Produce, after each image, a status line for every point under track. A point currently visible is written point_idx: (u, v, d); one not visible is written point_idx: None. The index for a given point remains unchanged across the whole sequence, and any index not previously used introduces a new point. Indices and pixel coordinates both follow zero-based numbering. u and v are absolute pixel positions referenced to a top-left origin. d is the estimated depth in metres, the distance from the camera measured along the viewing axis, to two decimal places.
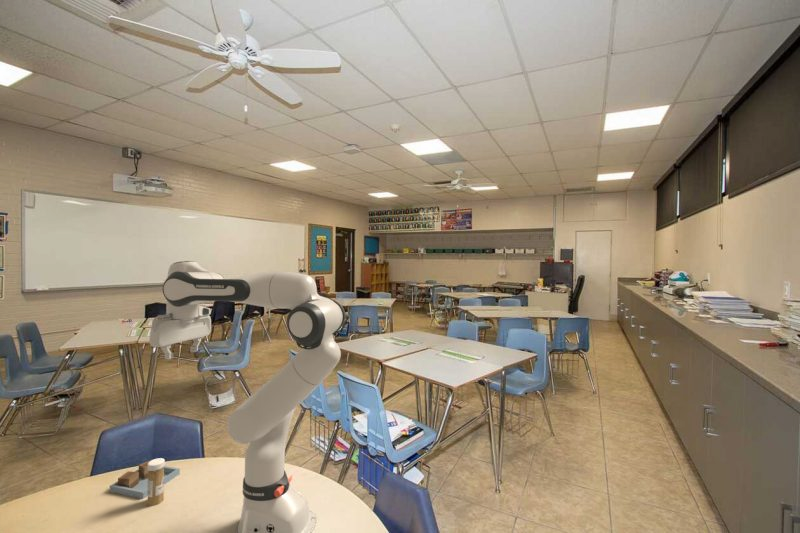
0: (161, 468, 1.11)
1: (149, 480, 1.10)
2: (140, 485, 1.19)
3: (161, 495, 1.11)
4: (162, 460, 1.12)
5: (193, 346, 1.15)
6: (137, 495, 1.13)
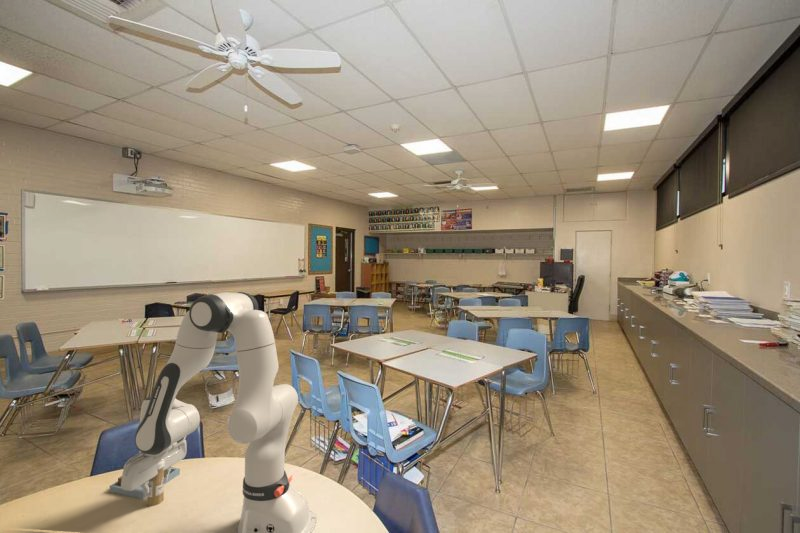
0: (161, 468, 1.11)
1: (149, 480, 1.10)
2: None
3: (161, 495, 1.11)
4: None
5: None
6: (137, 495, 1.13)
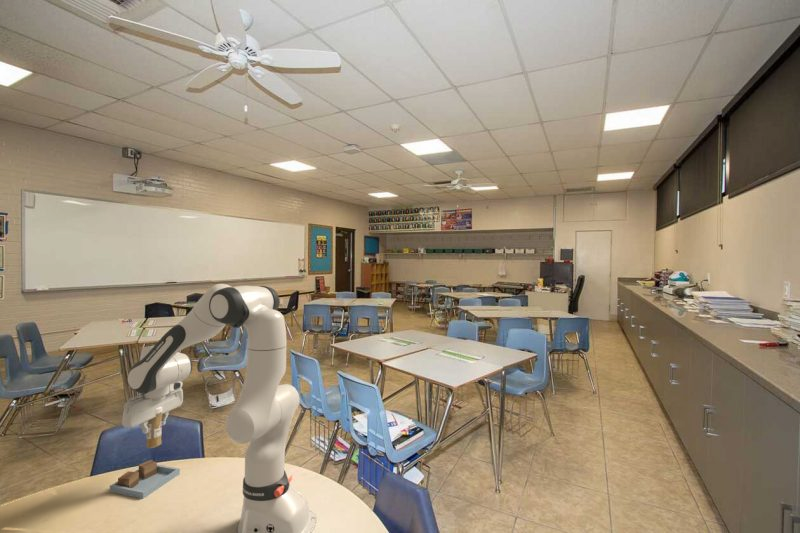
0: (159, 412, 1.20)
1: (148, 423, 1.19)
2: (140, 485, 1.19)
3: (159, 438, 1.20)
4: None
5: None
6: (137, 495, 1.13)
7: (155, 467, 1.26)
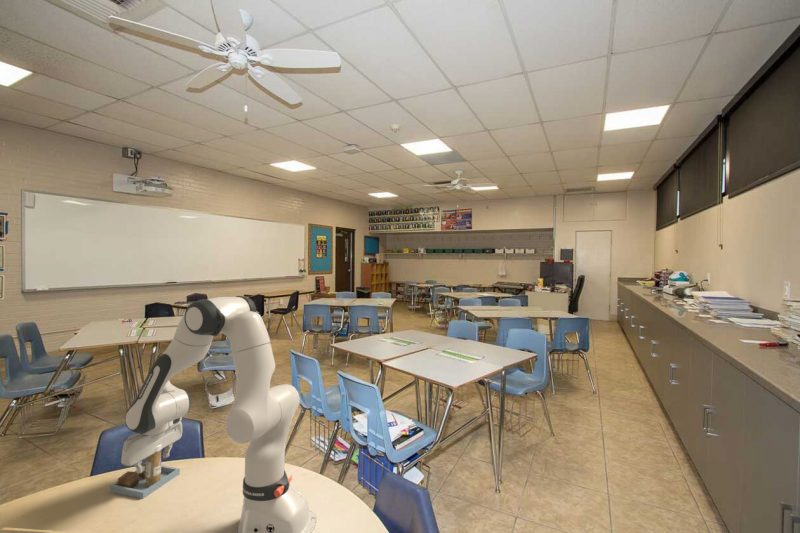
0: (159, 450, 1.20)
1: (147, 462, 1.19)
2: (140, 485, 1.19)
3: (158, 476, 1.20)
4: None
5: (165, 452, 1.25)
6: (137, 495, 1.13)
7: None
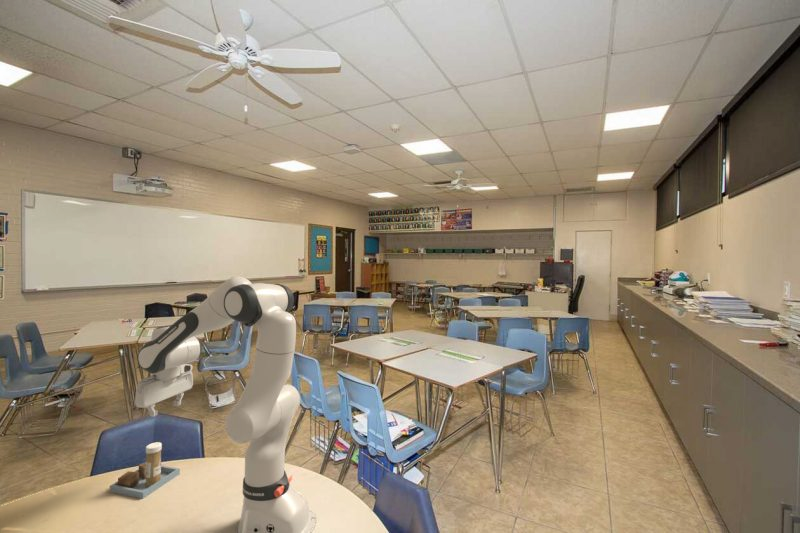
0: (159, 451, 1.20)
1: (147, 462, 1.19)
2: (140, 485, 1.19)
3: (158, 476, 1.20)
4: (159, 444, 1.21)
5: (176, 400, 1.26)
6: (137, 495, 1.13)
7: None
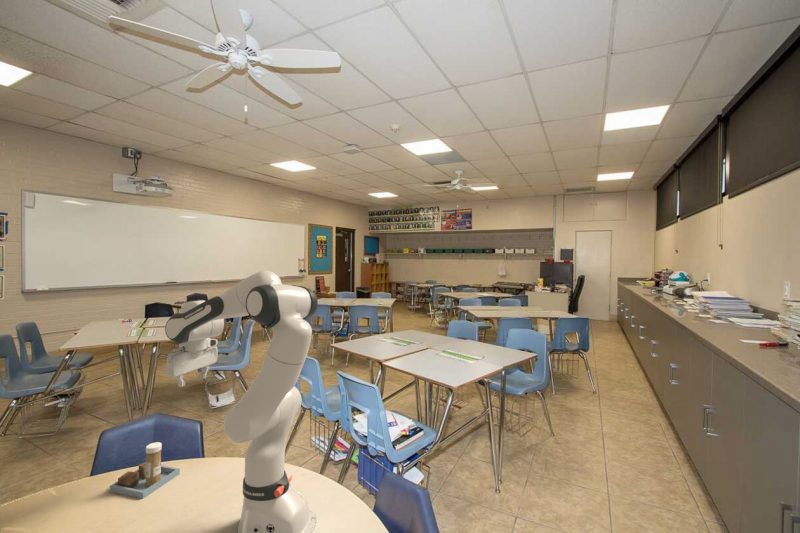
0: (158, 451, 1.20)
1: (147, 462, 1.19)
2: (140, 485, 1.19)
3: (158, 476, 1.20)
4: (159, 444, 1.21)
5: (202, 373, 1.31)
6: (137, 495, 1.13)
7: None
